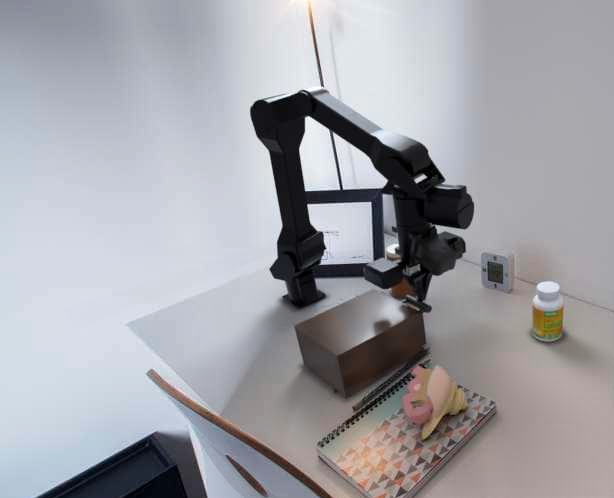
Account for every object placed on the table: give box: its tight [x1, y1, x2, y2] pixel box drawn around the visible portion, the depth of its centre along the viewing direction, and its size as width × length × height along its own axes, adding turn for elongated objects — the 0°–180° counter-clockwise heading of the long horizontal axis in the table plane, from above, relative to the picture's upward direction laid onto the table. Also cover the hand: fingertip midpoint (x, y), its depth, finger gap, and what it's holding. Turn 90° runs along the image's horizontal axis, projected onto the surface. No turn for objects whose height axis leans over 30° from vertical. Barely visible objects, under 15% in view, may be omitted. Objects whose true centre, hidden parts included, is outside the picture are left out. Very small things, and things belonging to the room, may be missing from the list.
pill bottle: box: [385, 243, 415, 299], centre depth 107 cm, size 5×5×10 cm
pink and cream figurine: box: [401, 364, 469, 440], centre depth 75 cm, size 9×10×10 cm
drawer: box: [380, 291, 433, 346], centre depth 90 cm, size 19×11×6 cm, turn 137°
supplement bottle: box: [531, 280, 565, 343], centre depth 93 cm, size 5×5×10 cm
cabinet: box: [293, 288, 425, 399], centre depth 88 cm, size 16×13×8 cm
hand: (421, 300), depth 96 cm, fingers closed
